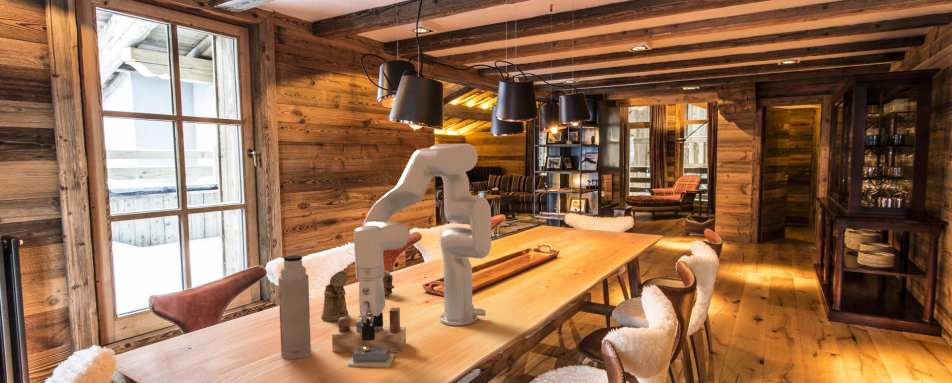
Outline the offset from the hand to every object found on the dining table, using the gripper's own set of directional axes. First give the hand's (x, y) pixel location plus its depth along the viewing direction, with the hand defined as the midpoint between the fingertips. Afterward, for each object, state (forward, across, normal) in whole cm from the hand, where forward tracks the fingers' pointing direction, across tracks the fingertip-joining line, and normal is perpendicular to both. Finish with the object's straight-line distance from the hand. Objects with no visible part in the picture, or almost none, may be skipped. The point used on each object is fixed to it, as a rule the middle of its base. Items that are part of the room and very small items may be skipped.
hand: (373, 332), depth 139 cm
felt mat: (+8, -1, +1) cm, 8 cm away
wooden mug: (+8, +34, +22) cm, 41 cm away
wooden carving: (+10, +64, +13) cm, 66 cm away
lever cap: (+7, -1, +1) cm, 7 cm away
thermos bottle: (+7, +4, +24) cm, 25 cm away
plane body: (+8, +9, +4) cm, 12 cm away
